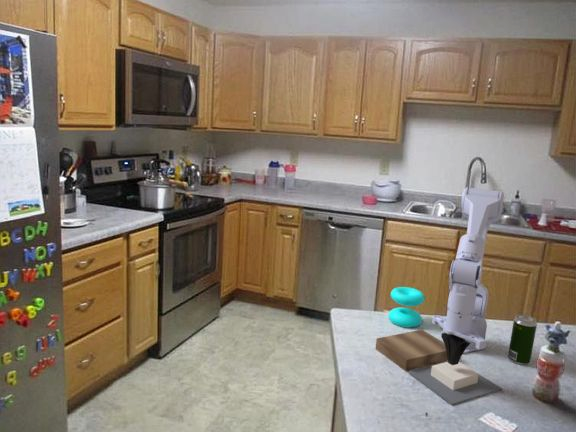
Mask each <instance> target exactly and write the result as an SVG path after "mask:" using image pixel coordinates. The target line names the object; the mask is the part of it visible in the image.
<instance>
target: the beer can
mask: <svg viewBox="0 0 576 432" xmlns="http://www.w3.org/2000/svg"><path fill="white" fill-rule="evenodd" d="M514 317H515V318H514V319H513V322H512V330H511V334H510V335H511V336H510V340H509V341H510V342H509V347H508V354H507V357H508V360H509V361H510V362H511V363H513V364H515V365H518V366H528V365H529V364H530V363H531V361H532V360H531V359H532V354H533V348H534V342H535V337H536V332H537V325H538V323H537V319H536V318H535V317H533V316H530V315H527V314H516V315H515V316H514Z"/></svg>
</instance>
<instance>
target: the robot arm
mask: <svg viewBox="0 0 576 432" xmlns="http://www.w3.org/2000/svg"><path fill="white" fill-rule="evenodd" d="M504 198H505V193H504V191H503V190H490V189H482V188H475V187H473V188H472V187H469V186H466V187H465V188H463V192H462V194H461V204H460V205H461V206H460V208H461V212H462V216H463V218H465V219H467V220H468V221H467V230H466V234H464V235H463V234H462V236H461V237H460V239H459V243H458V246H457V252H456V254H455V255H456V256H455V260H454V259H453V260H452V262H451V264H450V269H449V287H448V289H449V295H448V299H447V311H446V316H445V317H443V316H441V315H440V314H437V315H432V320H431V324H433V325H437V326H439V327H441V328H442V333H441V335H440V337H441V340H440V341H442V342H444V344H445V347H446V352H447V358H448V361H447V362H448V363H449V364H451V365H456V364H458V363H459V362H460V361H461V358H462V356H463V354H466V353H467V354H468V353H471V352H475V351H480V350H484V349H487V339H486V336H487V335H486V334H487V327H488V326H487V325H488V323H487V320H486V318H485V317H486V315H487V310H488V309H487V307H488V303H489V293H490V292H489V290H488V288H487V287H486V286H485V285H484V284H483V283H481V281H482V275H483V262H484V260H483V259H484V255H485V248H486V242H487V237H488V235H487V234H488V230H489V228H490V226H491V224H493V223H496V222H499V221H500V219H501V215H502V212H503V211H502V210H503V205H504V200H505V199H504Z"/></svg>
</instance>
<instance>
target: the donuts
mask: <svg viewBox="0 0 576 432" xmlns="http://www.w3.org/2000/svg"><path fill="white" fill-rule="evenodd" d="M390 297H391V300H393V301H394V302H395V303H396V304H398V305H401V306H403V307H401V306H400V307H395V308H392V309H391V310H390V311H389V313H388V319H389V322H391V323H393V324H394V325H397V326H398V327H402V328H416V327H418V326H420V325H421V324H422V322H423V321H422V320H423V319H422V315H421V314H420V313H419V312H418V311H417V310H415V309H413V308H409V307H416V306H420V305H421V304H423V303H424V301H425V295H424V293H423V292H422V291H420V290H419V289H416V288H413V287H408V286H398V287H395V288H393V289H392V290H391V292H390Z"/></svg>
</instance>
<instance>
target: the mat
mask: <svg viewBox="0 0 576 432" xmlns="http://www.w3.org/2000/svg"><path fill="white" fill-rule="evenodd" d="M432 366H433V365H428V366H424V367H420V368H416V369H412V370H408V374H409V375H410V376H411V377H413V378H414V379H416V380H417V381H418V382H419V383H420V384H422V385H424V386H425V387H426V388H427V389H429V390H430V391H432V393H434V394H436V396H439V398H441V399H443V401H445V402H447V403H448V404H449V405H450V406H454V405H455V406H456V405H458V404H461V403H465V402H467V401H468V402H469V401H471V400H474V399H477V398H481V397H484V396H487V395H491V394H493V393H496V392H497V393H498V392H500V391H502V390H503V388H502V387H500V386H499V385H498V384H496V383H494V382H493V381H491V380H489V379H488V378H486V377H485V376H484V375H483V376H482V375H481V374H479V373H478V374H479V375H478V381H477V383H475V384H472V385H469V386H465V387H462V388H459V389H456V390H452V389H450V388H449V387H447V386H446V385H445V384H443V383H442V382H440V381H439V380H437V379H436V378H434V377H433V376H431V369H432Z"/></svg>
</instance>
